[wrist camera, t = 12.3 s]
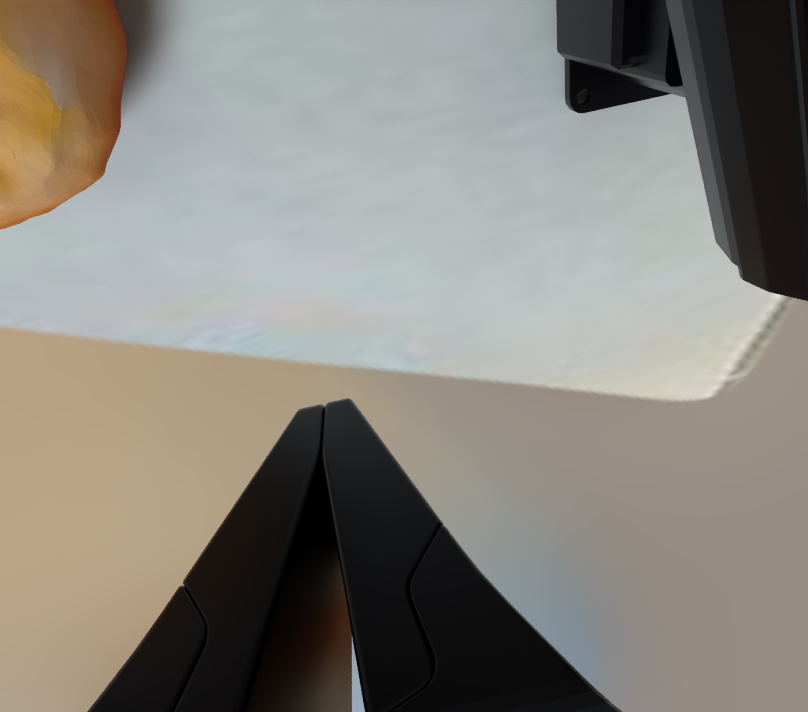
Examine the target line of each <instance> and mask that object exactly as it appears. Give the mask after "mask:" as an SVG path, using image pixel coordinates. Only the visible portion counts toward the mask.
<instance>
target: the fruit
mask: <svg viewBox="0 0 808 712" xmlns="http://www.w3.org/2000/svg"><path fill="white" fill-rule="evenodd" d="M126 61H127V40H126V36H125V33H124V30H123V26H122V23H121V20H120V17H119V13H118V10H117V8H116V5H115V3H114V1H113V0H0V229H4V228H7V227H10V226H13V225H16V224H19V223H21V222H23V221H25V220H27V219H29V218H32V217H35V216H39V215H42V214H44V213H47V212H50V211H51V210H53V209H55V208H56V207H57V206H59V205H60V204H62V203H63V202H65V201H66V200H68V199H70V198H71V197H73V196H74V195H76V194H78V193H79V192H81V191H83V190H85V189H87V188H88V187H89V186H91V185H92V184H93V183H95V182H96V181H97V180H99V179H100V178H101V177H102V176H103V175H104V173H105V169H106V164H107V161H108V159H109V157H110V154H111V152H112V149H113V147H114V145H115V142H116V140H117V137H118V135H119V132H120V127H121V96H122V88H123V82H124V78H125V69H126Z"/></svg>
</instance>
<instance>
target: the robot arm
mask: <svg viewBox="0 0 808 712" xmlns="http://www.w3.org/2000/svg"><path fill="white" fill-rule="evenodd" d="M556 1H557V51H558V53H560V54H561V55H562V56H563V57H564V58H565V100H566V104H567V106H568V107H569V109H571V110H573V111H575V112H577V113H586V112H591V111H595V110H600V109H604V108H609V107H613V106H618V105H623V104H627V103H632V102H636V101H641V100H645V99H650V98H654V97H659V96H664V95H668V94H675V95H678V96H682V97H685V98H686V101H687V106H688V111H689V115H690V120H691V125H692V130H693V135H694V139H695V144H696V149H697V154H698V159H699V163H700V168H701V173H702V178H703V182H704V187H705V192H706V197H707V202H708V206H709V211H710V216H711V221H712V226H713V230H714V235H715V240H716V242H717V244H718V245H719V246H720V248H721V249H722V250H723V251H724V253H725V254H726V255H727V257H728V258H729V259H730V260H731V262H732V263H734V264H735V265H737V266H738V269H739V274H740V277H741V278H742V279H743V280H744V281H746V282H749V283H751V284H753V285H755V286H757V287H759V288H762V289H764V290H766V291H768V292H772V293H776V294H780V295H785V296H789V297H793V298H797V299H802V300H806V301H808V0H556ZM583 89H585V90H586V92H587V95H586V98H585V100H584V101H583V102H581V103H580V104H579V103H578V102H577V95H578V93H579V92H580V91H581V90H583ZM183 584H184V586H185V587H184V586H180V587H179V588H178V589H177V591H176V592H175V594H174V595H173V597H172V598H171V600H170V601H169V602H168V604H167V605H166V607H165V609H164V610H163V611H162V613H161V614H160V616H159V617H158V618H157V620H156V621H155V623H154V624H153V626H152V627H151V628H150V630H149V631H148V633H147V634H146V635H145V637H144V638H143V640H142V641H141V643H140V644H139V645H138V647H137V648H136V650H135V651H134V652H133V654H132V655H131V656H130V657H129V659H128V660H127V662H126V663H125V664H124V665H123V667H122V668H121V669H120V670H119V672H118V673H117V674H116V676H115V677H114V678H113V680H112V681H111V682H110V683H109V685H108V686H107V687H106V689H105V690H104V692H103V693H102V694H101V695H100V696H99V698H98V699H97V700H96V701H95V703H94V704H93V705H92V706H91V708H90V709H89V710H88V711H87V712H352V637H353V644H354V650H355V655H356V661H357V667H358V673H359V679H360V685H361V691H362V697H363V702H364V708H365V712H622V711H621V710H620V709H618V708H617V707H616V706H614V705H613V704H612V703H611V702H610V701H609V700H608V699H606V698H605V697H604V696H603V695H602V694H601V693H600V692H599V691H597V690H596V689H595V688H594V687H593V686H592V685H591V684H590V683H589V682H588V681H587V680H586V679H585V678H584V677H583V676H582V675H581V674H580V673H579V672H578V671H577V670H576V669H575V668H574V667H573V666H572V665H571V664H570V663H569V662H568V661H567V660H566V659H565V658H564V657H563V656H562V655H561V654H560V653H559V652H558V651H557V650H556V649H555V648H554V647H553V646H552V645H551V644H550V643H549V642H548V641H547V640H546V639H545V638H544V637H543V636H542V635H541V634H540V633H539V632H538V631H537V630H536V629H535V628H534V627H533V626H532V625H531V624H530V623H529V622H528V621H527V620H526V619H525V618H524V617H523V616H522V615H521V614H520V613H519V612H518V611H517V610H516V609H515V608H514V607H513V606H512V605H511V604H510V603H509V602H508V601H507V600H506V599H505V597H504V596H503V595H502V594H501V593H500V592H499V591H498V590H497V589H496V588H495V587H494V586H493V584H492V583H491V582H490V581H489V580H488V579H487V578H486V577H485V576H484V575H483V574H482V573H481V571H480V570H479V569H478V568H477V566H476V565H475V564H474V563H473V562H472V560H471V559H470V558H469V556H468V555H467V554H466V553H465V551H464V550H463V549H462V548H461V546H460V545H459V544H458V542H457V541H456V540H455V538H454V537H453V536H452V534H450V532H449V530H448V529H447V528H446V527H445V526H443V523H442V522H441V520H440V519H439V517H438V516H437V515H436V513H435V512H434V511H433V509H432V508H431V507H430V505H429V504H428V502H427V501H426V500H425V498H424V497H423V496H422V494H421V493H420V492H419V490H418V489H417V488H416V486H415V485H414V483H413V482H412V481H411V479H410V478H409V477H408V475H407V474H406V473H405V471H404V470H403V469H402V467H401V466H400V464H399V463H398V462H397V461H396V459H395V458H394V456H393V455H392V454H391V452H390V451H389V450H388V448H387V447H386V445H385V444H384V443H383V441H382V440H381V439H380V437H379V436H378V435H377V433H376V432H375V431H374V429H373V428H372V427H371V425H370V424H369V423H368V421H367V420H366V419H365V417H364V416H363V414H362V413H361V412H360V410H359V409H358V408H357V406H356V405H355V403H354V402H353V401H352V400H351V399H349V398H348V399H342V400H338V401H334V402H329V403H327V404H326V406H323V405H316V406H312V407H307V408H303V409H300V410H298V411H297V413H296V414H295V415H294V417H293V418H292V420H291V422H290V423H289V424H288V426H287V427H286V429H285V430H284V432H283V433H282V435H281V437H280V438H279V439H278V441H277V442H276V444H275V445H274V447H273V448H272V450H271V451H270V453H269V454H268V456H267V457H266V459H265V460H264V462H263V463H262V465H261V466H260V468H259V469H258V471H257V472H256V473H255V475H254V477H253V478H252V479H251V481H250V483H249V484H248V485H247V487H246V488H245V490H244V491H243V493H242V494H241V496H240V497H239V499H238V500H237V502H236V503H235V505H234V506H233V508H232V509H231V511H230V512H229V514H228V515H227V517H226V518H225V520H224V521H223V523H222V524H221V526H220V527H219V528H218V530H217V531H216V533H215V534H214V536H213V537H212V539H211V540H210V542H209V543H208V545H207V546H206V548H205V550H204V551H203V552H202V554H201V555H200V557H199V558H198V560H197V561H196V563H195V564H194V566H193V567H192V569H191V570H190V572H189V573H188V575H187V576H186V578H185V579H184V581H183Z"/></svg>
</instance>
